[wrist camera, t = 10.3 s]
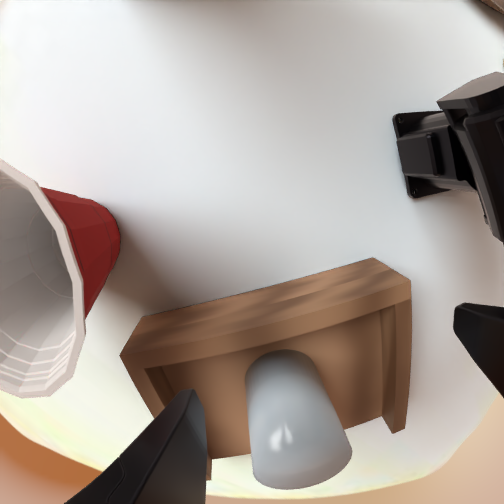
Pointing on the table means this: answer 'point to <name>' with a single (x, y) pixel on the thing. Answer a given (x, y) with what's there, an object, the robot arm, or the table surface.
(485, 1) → the plant saucer
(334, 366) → the wooden tray
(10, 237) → the plastic cup
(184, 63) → the table surface
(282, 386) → the grey rounded cone
